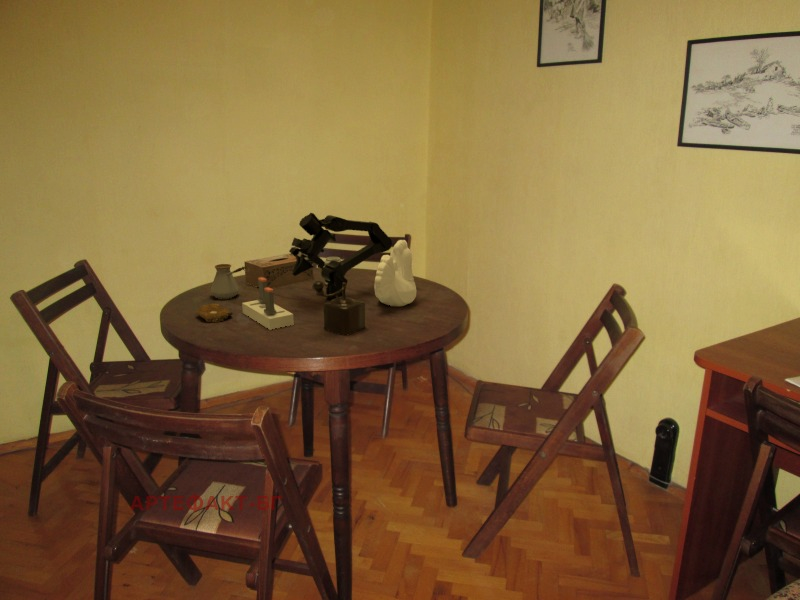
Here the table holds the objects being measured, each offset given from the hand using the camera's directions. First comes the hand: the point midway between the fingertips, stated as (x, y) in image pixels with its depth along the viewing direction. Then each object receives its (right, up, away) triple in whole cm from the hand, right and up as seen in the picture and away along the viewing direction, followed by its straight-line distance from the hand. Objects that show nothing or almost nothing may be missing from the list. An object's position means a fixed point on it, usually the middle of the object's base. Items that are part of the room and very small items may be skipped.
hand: (293, 275), depth 229 cm
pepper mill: (+19, -20, -21) cm, 35 cm away
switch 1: (-10, -10, -5) cm, 15 cm away
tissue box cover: (-13, -1, +40) cm, 42 cm away
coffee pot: (-27, -9, +14) cm, 31 cm away
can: (+11, -3, +35) cm, 37 cm away
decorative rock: (-28, -16, -8) cm, 33 cm away
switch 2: (-5, -14, -18) cm, 23 cm away
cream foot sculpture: (+36, -12, +7) cm, 39 cm away
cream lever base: (-8, -16, -10) cm, 21 cm away
